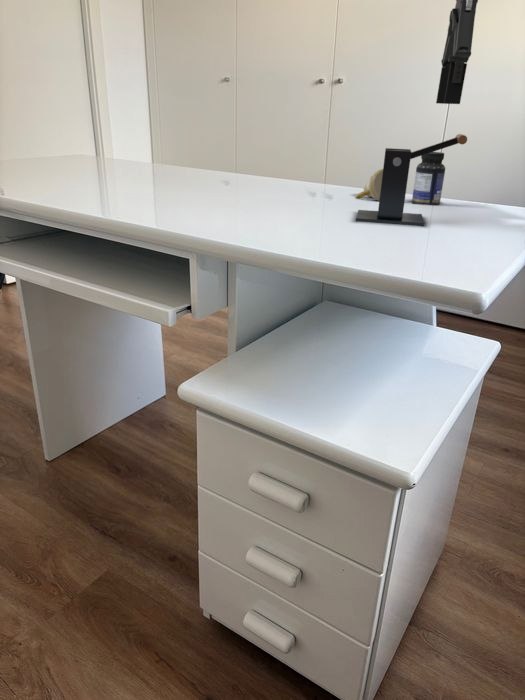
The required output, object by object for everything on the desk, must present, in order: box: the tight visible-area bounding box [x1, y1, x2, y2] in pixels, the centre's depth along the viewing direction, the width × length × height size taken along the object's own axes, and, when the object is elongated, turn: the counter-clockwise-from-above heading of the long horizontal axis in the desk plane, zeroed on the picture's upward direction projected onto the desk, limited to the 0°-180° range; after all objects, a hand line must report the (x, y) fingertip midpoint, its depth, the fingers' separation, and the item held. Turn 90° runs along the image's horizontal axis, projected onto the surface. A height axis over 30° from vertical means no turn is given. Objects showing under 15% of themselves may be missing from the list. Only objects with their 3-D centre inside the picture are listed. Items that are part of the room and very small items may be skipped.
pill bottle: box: [411, 151, 446, 207], centre depth 118 cm, size 6×6×11 cm
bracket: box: [355, 147, 425, 227], centre depth 97 cm, size 12×9×13 cm
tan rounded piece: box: [354, 168, 383, 202], centre depth 123 cm, size 8×10×10 cm
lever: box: [410, 133, 468, 160], centre depth 94 cm, size 13×5×2 cm, turn 79°
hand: (447, 104), depth 103 cm, fingers open, 13 cm apart
